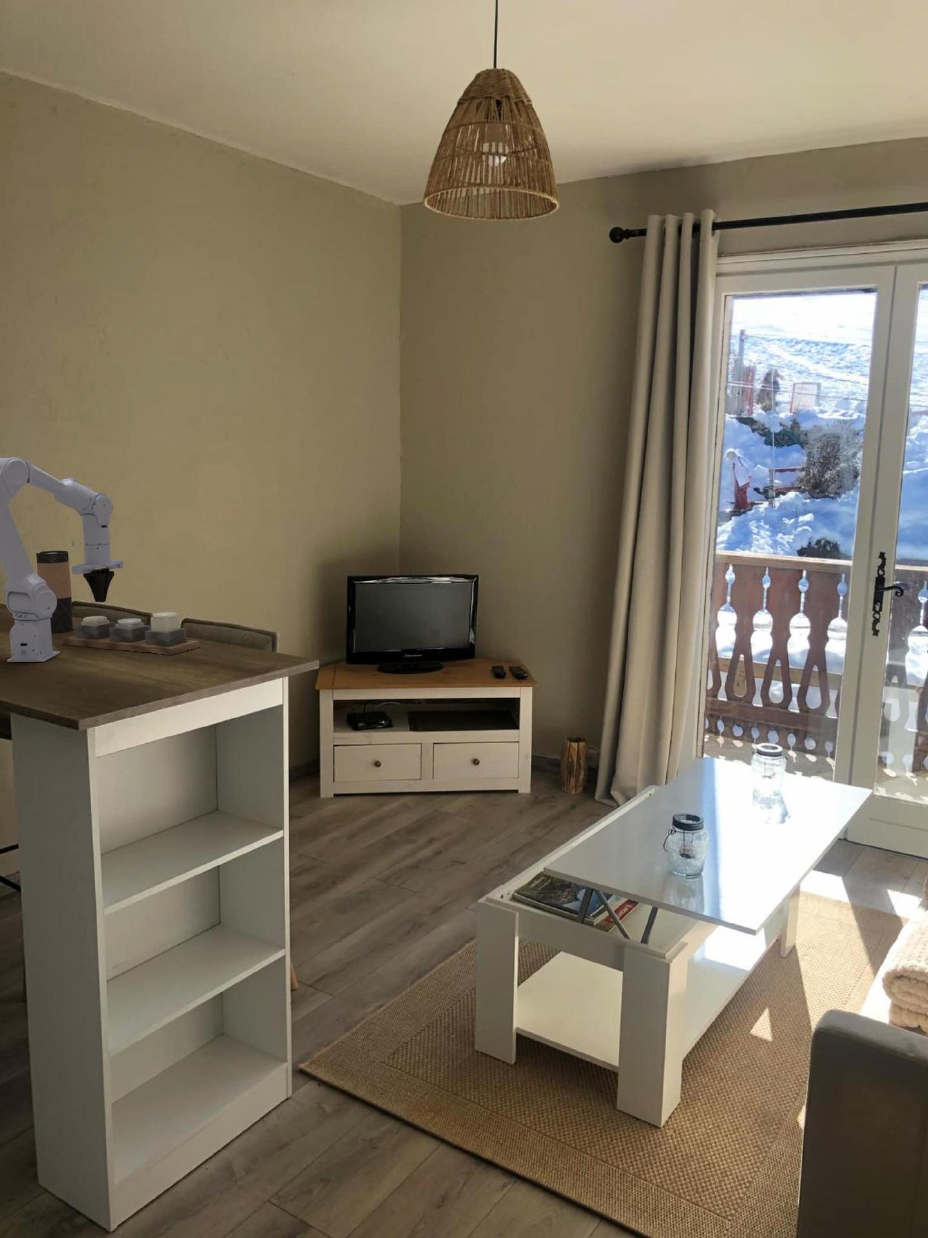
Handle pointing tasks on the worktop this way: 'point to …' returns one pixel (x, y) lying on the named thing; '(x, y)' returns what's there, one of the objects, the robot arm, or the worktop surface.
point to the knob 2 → (129, 623)
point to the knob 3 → (165, 622)
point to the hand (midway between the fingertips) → (100, 601)
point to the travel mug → (57, 586)
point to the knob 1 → (95, 621)
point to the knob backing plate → (131, 639)
